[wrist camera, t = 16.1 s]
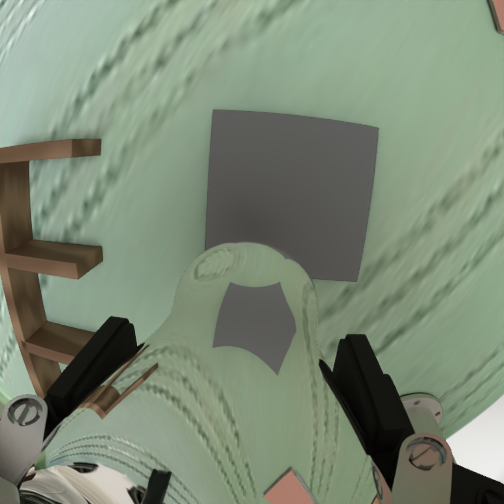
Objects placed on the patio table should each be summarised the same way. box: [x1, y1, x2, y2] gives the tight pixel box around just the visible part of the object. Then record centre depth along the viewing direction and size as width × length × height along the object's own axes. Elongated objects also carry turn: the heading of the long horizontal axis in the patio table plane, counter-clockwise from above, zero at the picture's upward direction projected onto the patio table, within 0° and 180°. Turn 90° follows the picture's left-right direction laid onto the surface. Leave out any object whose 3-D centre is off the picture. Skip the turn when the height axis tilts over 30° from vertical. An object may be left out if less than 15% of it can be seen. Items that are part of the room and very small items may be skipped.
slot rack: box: [0, 139, 103, 399], centre depth 29 cm, size 33×11×5 cm, turn 176°
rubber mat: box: [205, 110, 379, 282], centre depth 27 cm, size 14×14×1 cm
